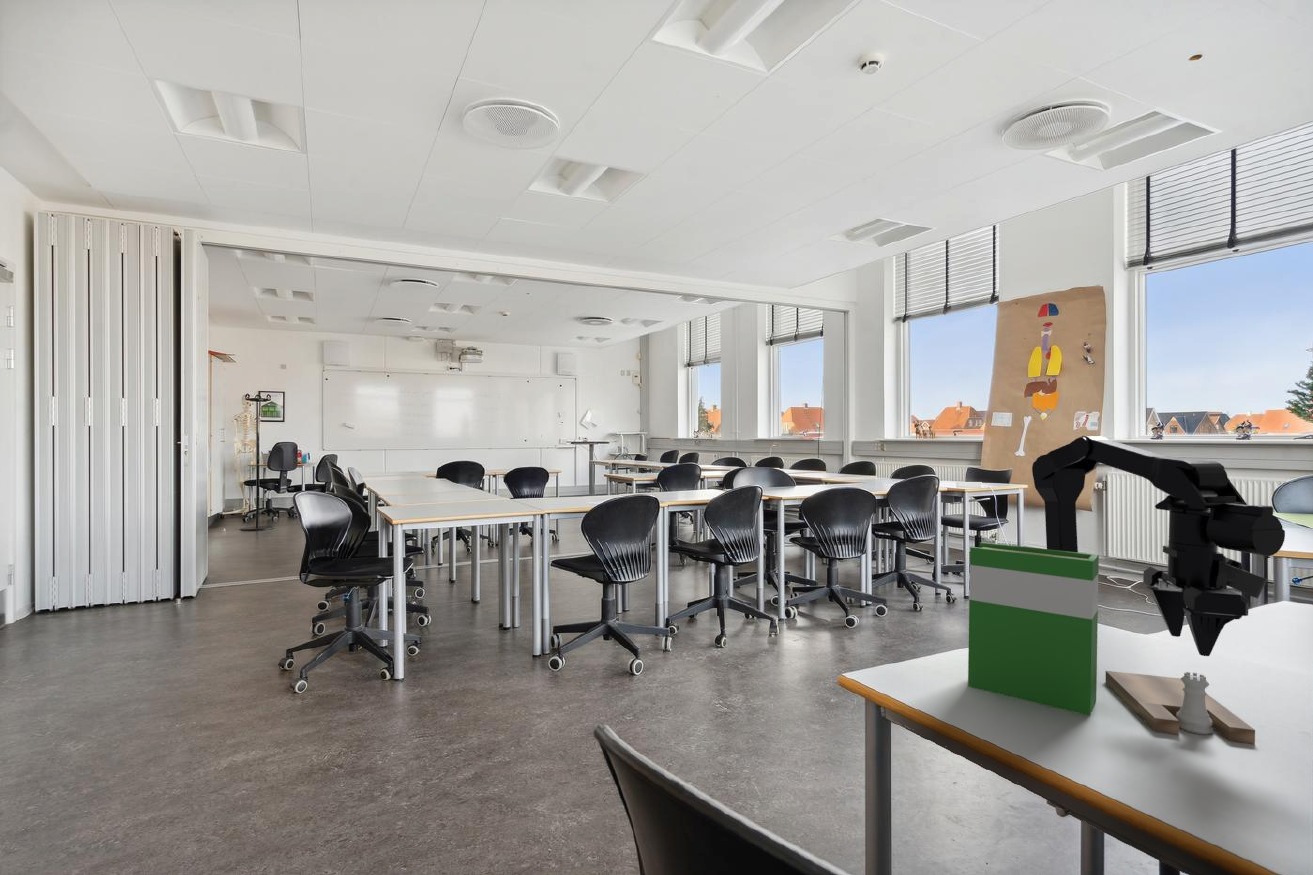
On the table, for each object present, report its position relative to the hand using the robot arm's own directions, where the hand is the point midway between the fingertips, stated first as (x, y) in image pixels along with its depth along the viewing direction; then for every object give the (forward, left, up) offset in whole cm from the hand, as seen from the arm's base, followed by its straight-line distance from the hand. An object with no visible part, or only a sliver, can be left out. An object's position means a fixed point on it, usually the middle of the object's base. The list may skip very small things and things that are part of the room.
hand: (1189, 645), depth 99 cm
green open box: (-20, +5, -12) cm, 24 cm away
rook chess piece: (0, -2, -12) cm, 12 cm away
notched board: (0, +5, -12) cm, 13 cm away
